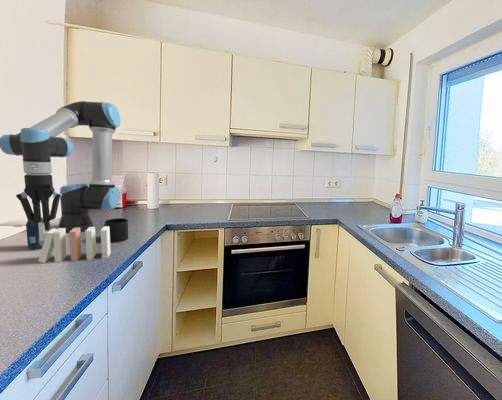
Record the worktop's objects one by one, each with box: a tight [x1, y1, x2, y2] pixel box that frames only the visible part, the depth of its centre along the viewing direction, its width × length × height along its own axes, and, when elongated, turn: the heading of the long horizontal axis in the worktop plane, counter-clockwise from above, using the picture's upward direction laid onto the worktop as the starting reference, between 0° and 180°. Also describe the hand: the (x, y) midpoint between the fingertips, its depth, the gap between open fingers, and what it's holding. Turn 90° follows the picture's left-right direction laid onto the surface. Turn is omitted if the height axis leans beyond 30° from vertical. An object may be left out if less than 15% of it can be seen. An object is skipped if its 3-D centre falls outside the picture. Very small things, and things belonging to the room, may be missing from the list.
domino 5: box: [100, 225, 112, 259], centre depth 100 cm, size 2×6×11 cm, turn 20°
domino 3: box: [68, 227, 83, 262], centre depth 97 cm, size 2×6×11 cm, turn 20°
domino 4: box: [84, 226, 97, 261], centre depth 99 cm, size 2×6×11 cm, turn 20°
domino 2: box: [53, 228, 68, 263], centre depth 95 cm, size 2×6×11 cm, turn 19°
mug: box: [102, 217, 129, 243], centre depth 120 cm, size 9×12×9 cm
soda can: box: [25, 217, 50, 251], centre depth 105 cm, size 7×7×12 cm
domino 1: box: [37, 228, 58, 264], centre depth 94 cm, size 2×6×11 cm, turn 20°
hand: (43, 239), depth 93 cm, fingers closed
